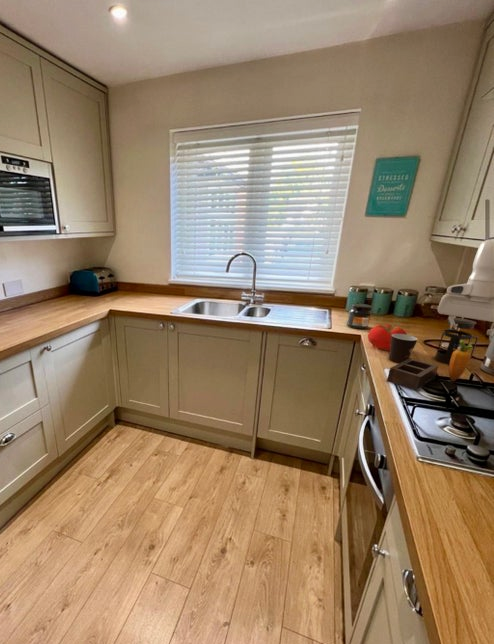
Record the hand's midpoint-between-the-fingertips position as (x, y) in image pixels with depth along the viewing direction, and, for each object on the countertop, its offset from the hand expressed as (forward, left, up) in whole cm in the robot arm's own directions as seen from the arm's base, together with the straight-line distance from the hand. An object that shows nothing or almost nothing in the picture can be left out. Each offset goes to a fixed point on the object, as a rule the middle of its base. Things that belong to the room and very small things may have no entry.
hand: (470, 332), depth 108 cm
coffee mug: (+19, -7, -18) cm, 27 cm away
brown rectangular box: (+9, +11, -18) cm, 23 cm away
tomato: (+30, -18, -18) cm, 39 cm away
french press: (+7, -23, -18) cm, 30 cm away
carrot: (0, 0, -18) cm, 18 cm away
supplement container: (+54, -42, -18) cm, 71 cm away
